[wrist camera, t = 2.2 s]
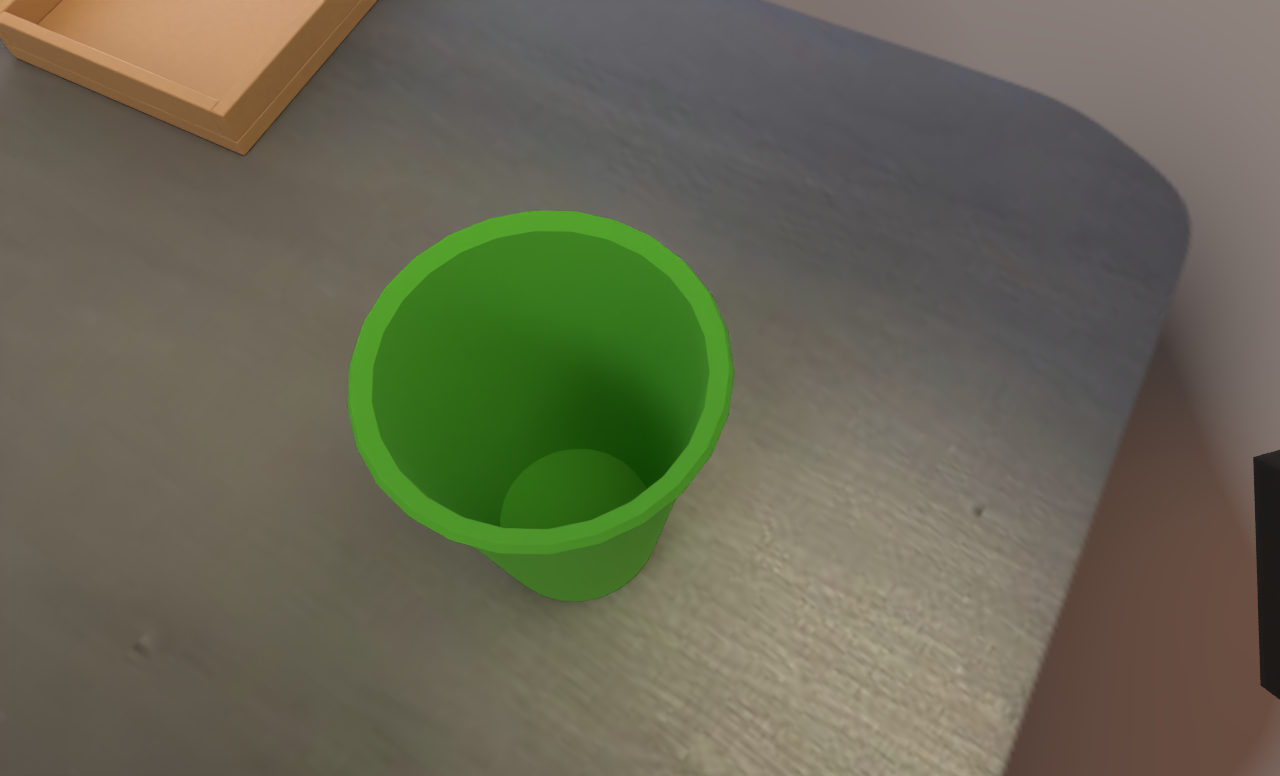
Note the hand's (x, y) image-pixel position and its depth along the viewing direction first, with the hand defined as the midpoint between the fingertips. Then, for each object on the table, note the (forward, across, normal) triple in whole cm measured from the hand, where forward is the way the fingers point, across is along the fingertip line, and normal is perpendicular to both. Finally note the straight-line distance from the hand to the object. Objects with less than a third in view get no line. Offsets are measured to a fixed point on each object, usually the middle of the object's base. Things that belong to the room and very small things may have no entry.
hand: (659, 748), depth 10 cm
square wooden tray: (+42, -9, +12) cm, 45 cm away
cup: (+23, 0, -8) cm, 24 cm away
